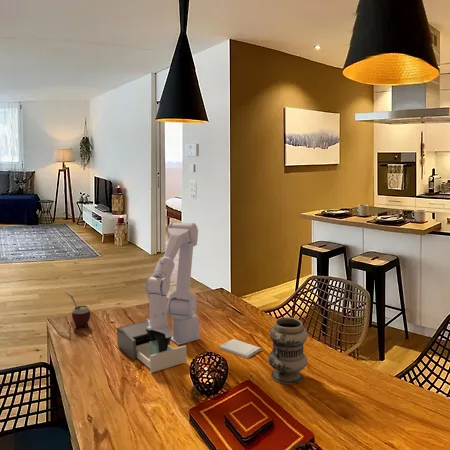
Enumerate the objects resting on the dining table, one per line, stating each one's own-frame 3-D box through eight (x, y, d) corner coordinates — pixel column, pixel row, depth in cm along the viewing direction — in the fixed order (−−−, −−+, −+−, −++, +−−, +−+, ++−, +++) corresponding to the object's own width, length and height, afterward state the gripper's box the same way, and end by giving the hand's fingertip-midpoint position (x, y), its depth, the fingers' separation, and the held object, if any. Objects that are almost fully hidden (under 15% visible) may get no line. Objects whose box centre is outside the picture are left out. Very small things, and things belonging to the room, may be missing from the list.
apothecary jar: (282, 390, 131) (283, 332, 128) (260, 372, 141) (261, 318, 138) (314, 380, 136) (316, 324, 133) (291, 364, 147) (292, 312, 144)
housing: (152, 336, 170) (151, 319, 168) (170, 349, 158) (169, 331, 157) (117, 345, 161) (116, 327, 160) (133, 359, 150) (132, 340, 149)
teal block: (162, 350, 153) (161, 338, 152) (168, 355, 149) (168, 342, 148) (150, 354, 150) (149, 341, 149) (156, 359, 146) (156, 346, 146)
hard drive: (219, 345, 159) (247, 355, 151) (233, 338, 165) (261, 346, 157) (219, 350, 159) (247, 359, 151) (233, 342, 165) (261, 351, 158)
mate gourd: (94, 325, 181) (92, 290, 178) (79, 332, 174) (76, 295, 172) (82, 321, 185) (80, 287, 182) (66, 328, 178) (64, 292, 176)
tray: (162, 344, 162) (162, 329, 161) (186, 361, 148) (186, 345, 147) (129, 353, 154) (128, 338, 153) (151, 372, 141) (150, 356, 140)
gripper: (137, 308, 151) (139, 346, 153) (157, 321, 139) (158, 362, 141) (156, 304, 155) (157, 341, 157) (177, 316, 143) (178, 356, 145)
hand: (159, 350), depth 149 cm, fingers closed on teal block, 4 cm apart
